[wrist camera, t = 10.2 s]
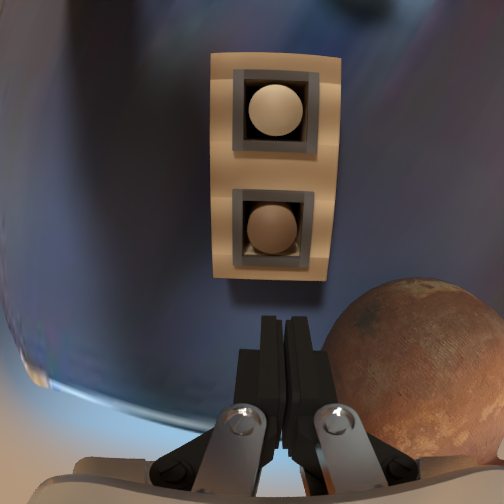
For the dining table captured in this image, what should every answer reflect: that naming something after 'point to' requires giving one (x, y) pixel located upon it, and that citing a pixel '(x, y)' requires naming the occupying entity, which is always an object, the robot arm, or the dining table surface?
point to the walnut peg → (271, 226)
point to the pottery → (423, 368)
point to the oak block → (273, 164)
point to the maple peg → (275, 110)
